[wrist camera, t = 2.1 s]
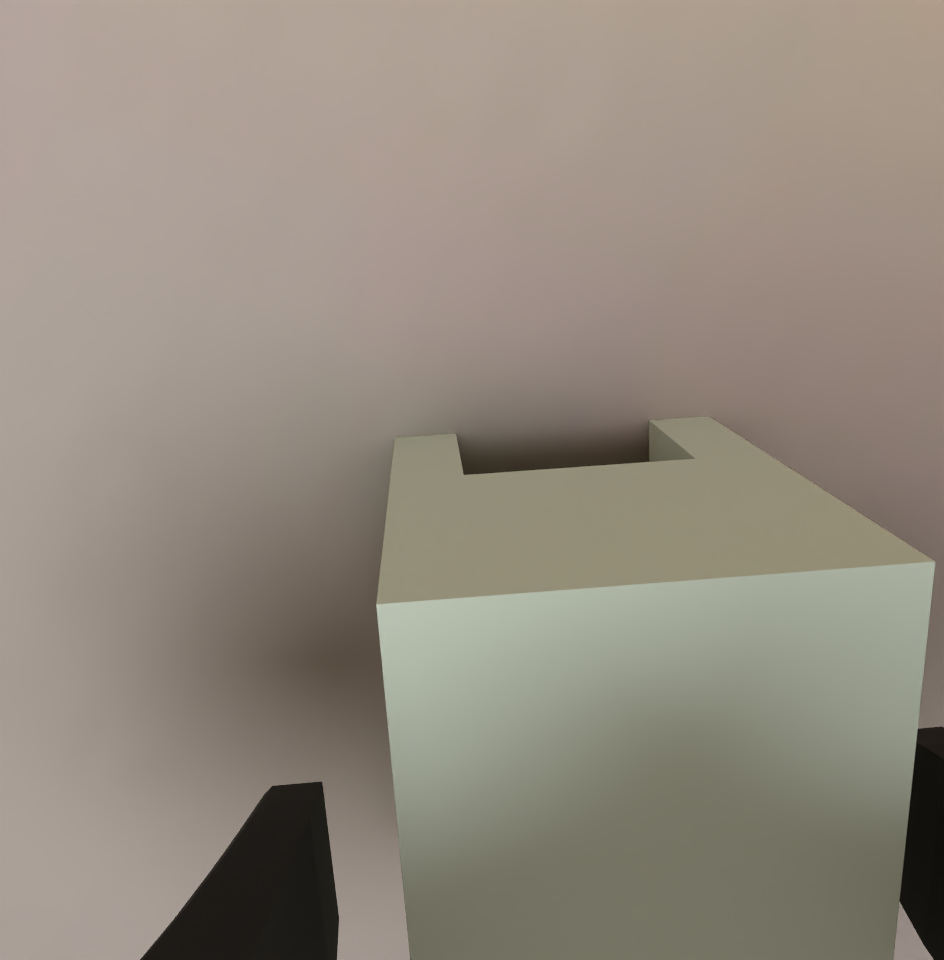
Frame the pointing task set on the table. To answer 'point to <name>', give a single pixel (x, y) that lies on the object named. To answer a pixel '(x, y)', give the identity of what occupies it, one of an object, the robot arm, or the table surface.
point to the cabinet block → (647, 706)
